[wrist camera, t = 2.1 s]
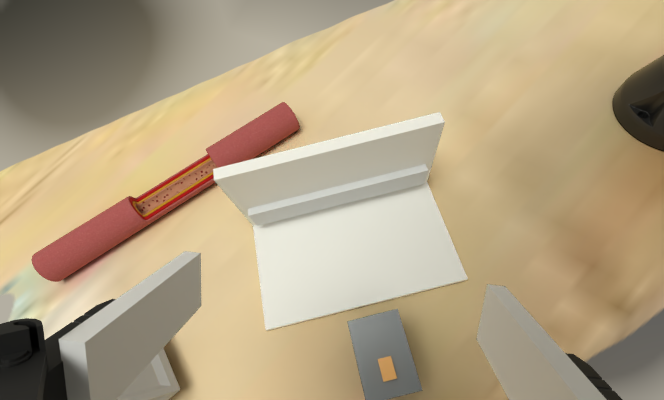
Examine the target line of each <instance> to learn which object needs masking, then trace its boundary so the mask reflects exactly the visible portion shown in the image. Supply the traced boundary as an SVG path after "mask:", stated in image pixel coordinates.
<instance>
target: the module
mask: <svg viewBox="0 0 664 400" xmlns="http://www.w3.org/2000/svg"><path fill="white" fill-rule="evenodd" d="M347 322H348V327H349V331H350V335H351V340H352V344H353V348H354V352H355V357H356V361H357V365H358V370H359V374H360V378H361V382H362V387H363V391H364V395H365V400H387V399H391V398H395V397H399V396H403V395H407V394H411V393H415V392H419V391H423V390H422V387H421V384H420V381H419V377H418V374H417V371H416V367H415V364H414V361H413V358H412V354H411V351H410V348H409V345H408V341H407V338H406V335H405V332H404V328H403V325H402V322H401V318H400V315H399V312H398V309H395V310H391V311H387V312H383V313H379V314H375V315H371V316H367V317H363V318H359V319H355V320H351V321H347Z"/></svg>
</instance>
